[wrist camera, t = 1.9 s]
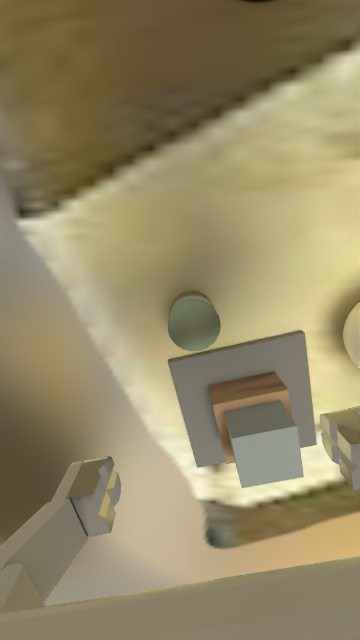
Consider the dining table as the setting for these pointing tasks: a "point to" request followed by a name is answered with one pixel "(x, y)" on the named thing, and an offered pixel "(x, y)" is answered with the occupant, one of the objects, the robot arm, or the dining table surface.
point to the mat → (236, 363)
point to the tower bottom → (245, 400)
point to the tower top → (264, 443)
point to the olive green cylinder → (193, 322)
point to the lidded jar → (353, 335)
